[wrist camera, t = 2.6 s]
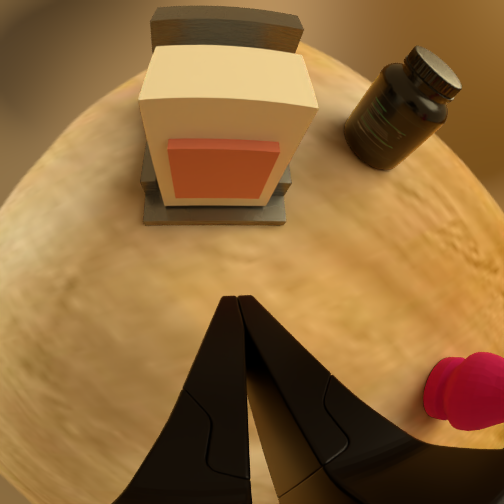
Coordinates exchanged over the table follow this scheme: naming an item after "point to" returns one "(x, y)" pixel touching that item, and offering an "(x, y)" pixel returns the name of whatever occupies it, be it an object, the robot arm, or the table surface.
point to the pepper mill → (467, 391)
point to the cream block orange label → (224, 121)
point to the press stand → (226, 34)
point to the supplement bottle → (401, 109)
